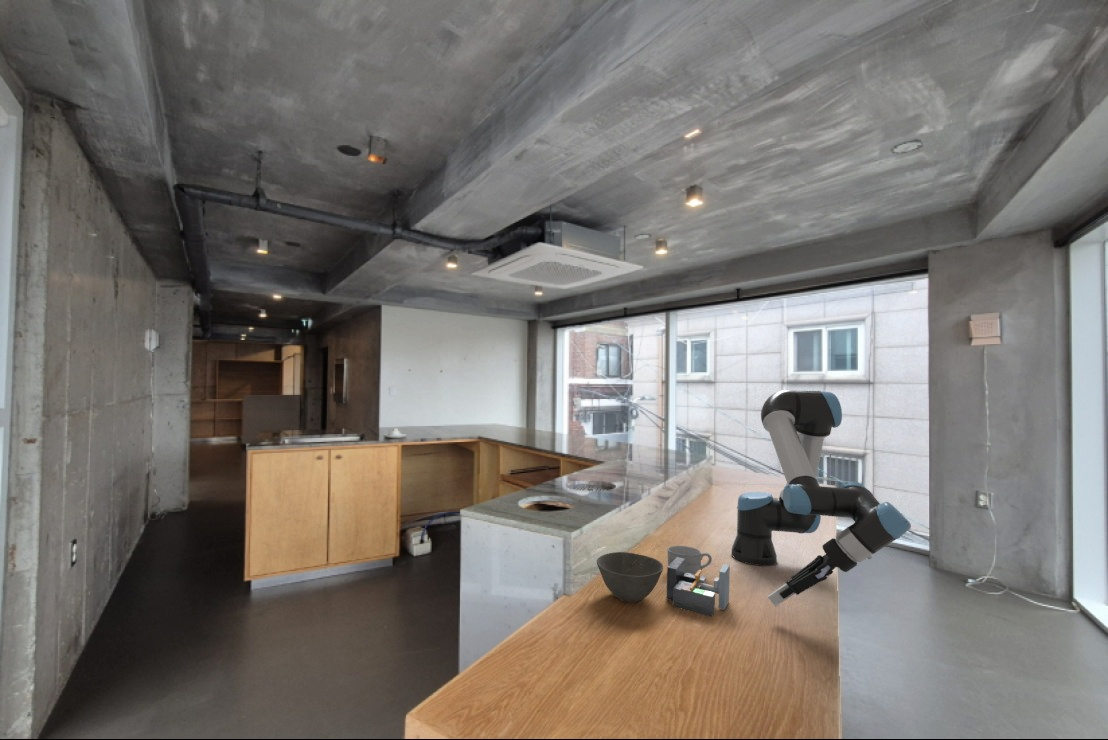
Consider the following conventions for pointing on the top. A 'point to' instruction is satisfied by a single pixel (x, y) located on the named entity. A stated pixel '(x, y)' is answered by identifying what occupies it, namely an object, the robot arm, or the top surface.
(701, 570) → the orange bar
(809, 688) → the top surface
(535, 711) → the top surface
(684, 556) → the teacup
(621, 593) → the bowl
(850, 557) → the robot arm
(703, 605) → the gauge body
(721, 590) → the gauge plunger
